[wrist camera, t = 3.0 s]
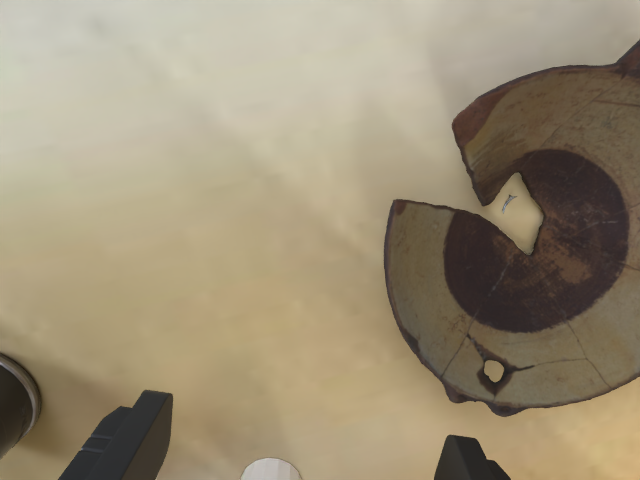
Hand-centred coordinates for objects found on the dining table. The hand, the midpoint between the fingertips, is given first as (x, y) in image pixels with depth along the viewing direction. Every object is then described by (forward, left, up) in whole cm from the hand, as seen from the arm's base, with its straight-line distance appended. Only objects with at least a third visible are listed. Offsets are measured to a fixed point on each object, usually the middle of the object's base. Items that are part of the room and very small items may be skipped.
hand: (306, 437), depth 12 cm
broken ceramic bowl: (+15, +9, -20) cm, 27 cm away
